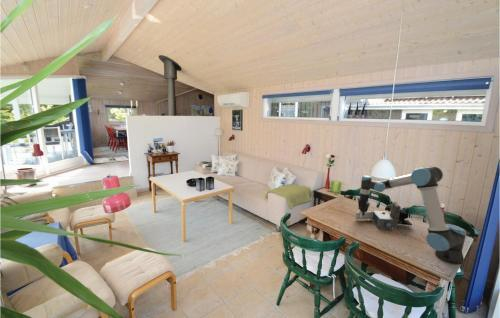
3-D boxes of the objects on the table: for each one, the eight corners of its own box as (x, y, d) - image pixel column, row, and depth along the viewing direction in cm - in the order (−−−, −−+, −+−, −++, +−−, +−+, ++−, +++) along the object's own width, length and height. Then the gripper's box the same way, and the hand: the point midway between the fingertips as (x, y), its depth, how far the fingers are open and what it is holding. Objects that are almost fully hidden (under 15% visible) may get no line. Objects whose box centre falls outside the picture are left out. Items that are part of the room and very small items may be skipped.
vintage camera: (412, 229, 201) (416, 207, 197) (392, 227, 204) (396, 205, 199) (407, 224, 210) (411, 203, 206) (388, 222, 213) (392, 201, 209)
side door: (355, 220, 215) (356, 212, 213) (354, 219, 216) (355, 211, 215) (371, 220, 216) (372, 212, 214) (370, 219, 218) (371, 211, 216)
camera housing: (393, 231, 197) (395, 220, 195) (379, 229, 199) (380, 218, 197) (384, 220, 215) (386, 210, 213) (371, 219, 217) (372, 209, 215)
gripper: (374, 195, 202) (370, 220, 207) (362, 190, 214) (359, 214, 219) (367, 196, 200) (363, 221, 205) (356, 191, 212) (353, 215, 217)
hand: (361, 218), depth 212 cm, fingers closed
